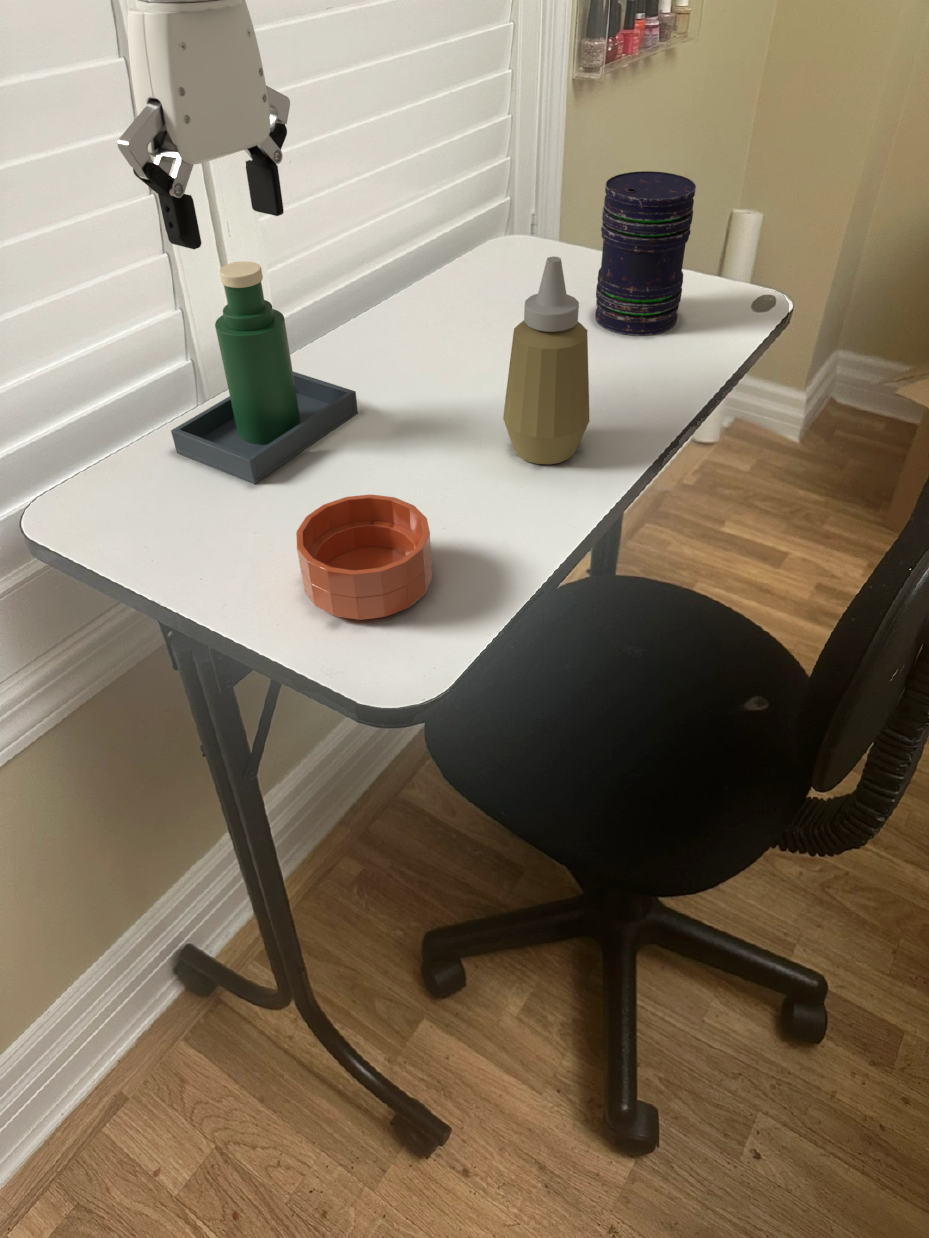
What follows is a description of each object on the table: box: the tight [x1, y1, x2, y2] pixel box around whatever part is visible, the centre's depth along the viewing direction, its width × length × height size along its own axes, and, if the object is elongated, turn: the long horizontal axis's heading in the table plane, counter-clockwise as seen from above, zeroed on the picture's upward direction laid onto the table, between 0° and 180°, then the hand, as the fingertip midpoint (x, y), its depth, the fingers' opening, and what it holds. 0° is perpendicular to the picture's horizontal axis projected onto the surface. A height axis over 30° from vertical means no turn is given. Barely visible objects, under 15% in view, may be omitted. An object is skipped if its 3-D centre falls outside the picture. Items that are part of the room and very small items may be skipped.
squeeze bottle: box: [502, 256, 590, 465], centre depth 80 cm, size 8×8×18 cm
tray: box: [170, 371, 359, 485], centre depth 89 cm, size 15×10×2 cm
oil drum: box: [594, 170, 697, 337], centre depth 103 cm, size 10×10×15 cm
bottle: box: [214, 260, 301, 445], centre depth 84 cm, size 6×6×16 cm
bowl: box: [296, 494, 433, 621], centre depth 70 cm, size 10×10×5 cm
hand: (228, 228), depth 76 cm, fingers open, 9 cm apart
